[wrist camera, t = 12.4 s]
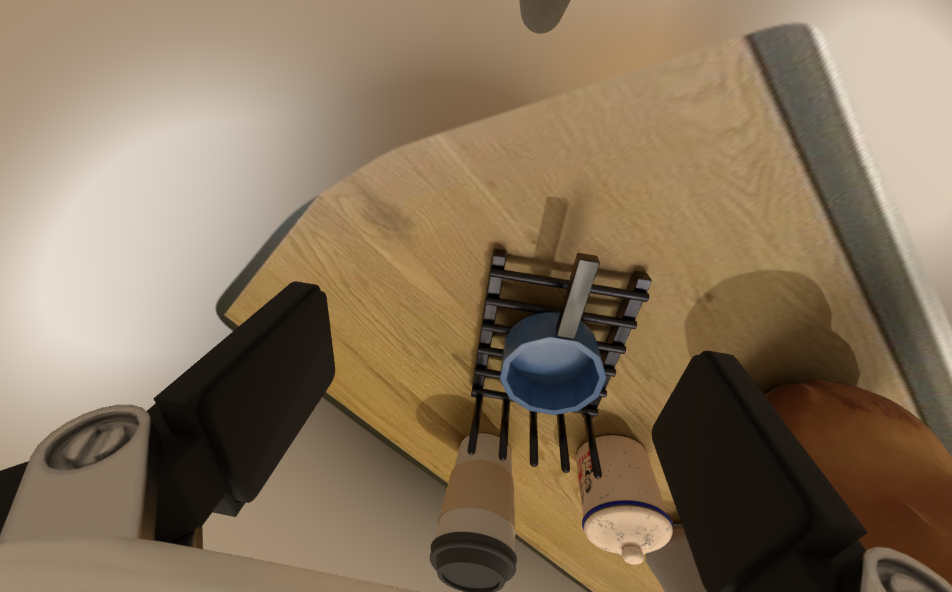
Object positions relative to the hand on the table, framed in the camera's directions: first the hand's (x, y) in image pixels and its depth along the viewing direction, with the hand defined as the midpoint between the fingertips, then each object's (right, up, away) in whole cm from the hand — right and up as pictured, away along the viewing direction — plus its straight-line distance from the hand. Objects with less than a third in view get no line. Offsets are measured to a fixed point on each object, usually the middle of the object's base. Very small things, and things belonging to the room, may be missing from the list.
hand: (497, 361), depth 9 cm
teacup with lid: (+17, -20, +37) cm, 45 cm away
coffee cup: (+1, -19, +39) cm, 43 cm away
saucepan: (+7, -1, +24) cm, 25 cm away
